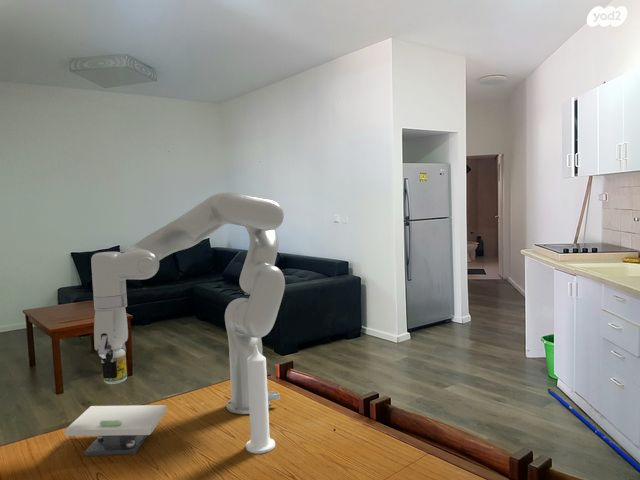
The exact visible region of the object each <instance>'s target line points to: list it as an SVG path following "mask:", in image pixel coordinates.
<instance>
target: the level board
mask: <svg viewBox="0 0 640 480" xmlns="http://www.w3.org/2000/svg"><path fill="white" fill-rule="evenodd" d="M167 407H168V406H167V404H163V405H162V404H157V405H155V404H153V405H152V404H151V405H150V404H149V405H138V404H137V405H90V406H89V407H88V408H87V409H86V410H85V411H83V413H82V414H80V415H79V416H78V417H77V418H76V419H75V420H74V421H72V423H71V424H69V426H67V427H66V428H65V429H64V436H65V437H85V436H87V437H94V436H96V437H97V436H108V435H148V436H150V435H151V434H152V433H153V431H154V430H155V428H156V426H158V424H159V423H160V422H161V420H162V419H163V417H164V416H165V414H166V413H167V412H168V408H167Z"/></svg>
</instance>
